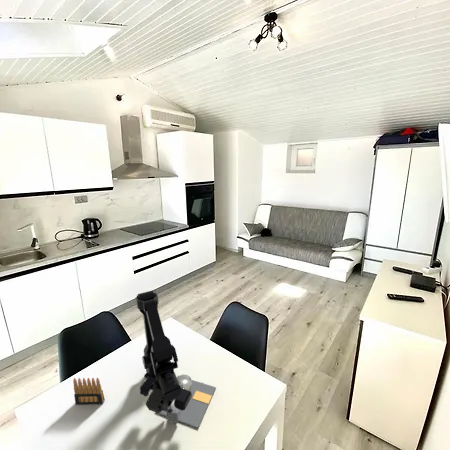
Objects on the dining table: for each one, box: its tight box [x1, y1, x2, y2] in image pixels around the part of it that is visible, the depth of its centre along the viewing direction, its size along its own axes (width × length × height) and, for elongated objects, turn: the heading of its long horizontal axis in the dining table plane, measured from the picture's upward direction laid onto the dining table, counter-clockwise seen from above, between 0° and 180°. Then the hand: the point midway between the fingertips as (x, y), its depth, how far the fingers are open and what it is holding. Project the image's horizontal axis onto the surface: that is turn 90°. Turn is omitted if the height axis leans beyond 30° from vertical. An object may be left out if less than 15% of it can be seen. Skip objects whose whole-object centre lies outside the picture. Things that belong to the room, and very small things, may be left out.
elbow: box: [166, 374, 192, 424], centre depth 96 cm, size 16×7×4 cm, turn 172°
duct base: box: [157, 379, 217, 430], centre depth 97 cm, size 18×17×3 cm
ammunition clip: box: [73, 377, 105, 406], centre depth 96 cm, size 11×2×12 cm, turn 90°
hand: (166, 410), depth 91 cm, fingers closed
